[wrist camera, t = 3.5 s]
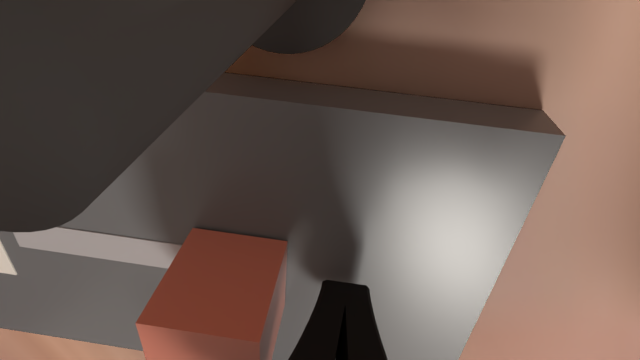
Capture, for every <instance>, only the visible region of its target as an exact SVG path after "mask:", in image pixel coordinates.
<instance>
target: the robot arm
mask: <svg viewBox="0 0 640 360" xmlns="http://www.w3.org/2000/svg"><path fill="white" fill-rule="evenodd" d="M335 358H336V359H335ZM288 360H388V359H387V356H386V353H385V350H384V347H383V344H382V341H381V338H380V334H379V331H378V327H377V324H376V320H375V316H374V312H373V307H372V303H371V297H370V289H369V288H368V287H367V285H360V284H354V283H347V282H340V281H333V280H324V281H322V285H321V290H320V293H319V296H318V299H317V302H316V304H315V307H314V309H313V312H312V314H311V316H310V319H309V321H308V323H307V325H306V327H305V329H304V331H303V333H302V335H301V337H300V339H299V341H298V343H297V345H296V347H295V348H294V350H293V352H292V354H291V355H290V357H289V359H288Z"/></svg>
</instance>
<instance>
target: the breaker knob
mask: <svg viewBox="0 0 640 360" xmlns="http://www.w3.org/2000/svg"><path fill="white" fill-rule="evenodd" d="M287 243H288V241H282V240H275V239H268V238H261V237H254V236H247V235H240V234H233V233H226V232H219V231H212V230H205V229H198V228H192V230H191V231H190V233H189V235H188V236H187V238H186V240H185V241H184V243H183V245H182V246H181V248H180V250H179V251H178V253H177V255H176V256H175V258H174V260H173V261H172V263H171V265H170V266H169V268H168V270H167V271H166V273H165V275H164V276H163V278H162V280H161V281H160V283H159V285H158V286H157V288H156V290H155V291H154V293H153V295H152V296H151V298H150V300H149V301H148V303H147V305H146V306H145V308H144V310H143V311H142V313H141V315H140V316H139V318H138V320H137V321H136V327H137V330H138V334H139V337H140V341H141V344H142V347H143V351H144V354H145V358H146V360H272V356H273V352H274V348H275V344H276V339H277V335H278V331H279V327H280V323H281V318H282V314H283V310H284V306H285V288H286V266H287Z"/></svg>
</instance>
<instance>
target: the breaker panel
mask: <svg viewBox="0 0 640 360" xmlns="http://www.w3.org/2000/svg"><path fill="white" fill-rule="evenodd" d="M564 138H565V135H564V133H563V132H562V131H561V130H560V129H559V128H558V127H557V126H556V124H555V123H554V122H553V121H552V120H551V119H550V118H549V117H548V115H547V114H546V113H545V112H544V111H542V110H534V109H526V108H517V107H509V106H500V105H492V104H484V103H475V102H467V101H459V100H450V99H442V98H433V97H425V96H417V95H408V94H400V93H391V92H383V91H375V90H366V89H358V88H350V87H341V86H333V85H324V84H316V83H308V82H299V81H291V80H282V79H274V78H266V77H257V76H249V75H240V74H232V73H223V74H222V75H221V76H220V77H219V78H218V79H217V80H216V81H215V82H214V83H213V84H212V85H211V86H210V87H209V88H208V89H207V90H206V91H205V92H204V93H203V94H202V95H201V96H200V97H199V98H198V99H197V100H196V101H195V102H194V103H193V104H192V105H190V106H189V107H188V108H187V109H186V110H185V111H184V112H183V113H182V114H181V115H180V116H179V117H178V118H177V119H176V120H175V121H174V122H173V123H172V124H171V125H170V126H169V127H168V128H167V129H166V130H165V131H164V132H163V133H162V134H161V135H160V136H159V137H158V138H157V139H156V140H155V141H154V142H153V143H152V144H151V145H150V146H149V147H148V148H147V149H146V150H145V151H144V152H143V153H142V154H141V155H140V156H139V157H138V158H137V159H136V160H135V161H134V162H133V163H132V164H131V165H130V166H129V167H128V168H127V169H126V170H125V171H124V172H123V173H122V174H121V175H120V176H119V177H118V178H117V179H116V180H115V181H114V182H113V183H112V184H111V185H110V186H108V187H107V188H106V189H105V190H104V191H103V192H102V193H101V194H100V195H99V196H98V197H97V198H96V199H95V200H94V201H93V202H92V203H91V204H90V205H89V206H88V207H87V208H86V209H85V210H84V211H83V212H82V213H81V214H79V215H78V216H77V217H75V218H74V219H73V220H71V221H69V222H67V223H65V224H63V225H61V226H58V227H55V228H51V229H48V230H43V231H36V232H6V231H0V328H4V329H10V330H16V331H22V332H29V333H35V334H41V335H47V336H53V337H60V338H66V339H72V340H78V341H85V342H91V343H97V344H103V345H109V346H116V347H122V348H128V349H134V350H140V351H143V347H142V344H141V341H140V337H139V334H138V330H137V327H136V321H137V320H138V318H139V316H140V315H141V313H142V311H143V310H144V308H145V306H146V305H147V303H148V301H149V300H150V298H151V296H152V295H153V293H154V291H155V290H156V288H157V286H158V285H159V283H160V281H161V280H162V278H163V276H164V275H165V273H166V271H167V270H168V268H169V266H170V265H171V263H172V261H173V260H174V258H175V256H176V255H177V253H178V251H179V250H180V248H181V246H182V245H183V243H184V241H185V240H186V238H187V236H188V235H189V233H190V231H191V230H192V228H198V229H205V230H212V231H219V232H226V233H233V234H240V235H247V236H254V237H261V238H268V239H275V240H282V241H288V243H287V266H286V288H285V306H284V310H283V314H282V318H281V323H280V327H279V331H278V335H277V339H276V344H275V348H274V352H273V356H272V360H288V359H289V357H290V355H291V354H292V352H293V350H294V348H295V347H296V345H297V343H298V341H299V339H300V337H301V335H302V333H303V331H304V329H305V327H306V325H307V323H308V321H309V319H310V316H311V314H312V312H313V309H314V307H315V304H316V302H317V299H318V296H319V293H320V290H321V285H322V281H324V280H333V281H340V282H347V283H354V284H360V285H367V287H368V288H369V289H370V297H371V303H372V307H373V312H374V316H375V320H376V324H377V327H378V331H379V334H380V338H381V341H382V344H383V347H384V350H385V353H386V356H387V359H388V360H458V359H459V357H460V355H461V353H462V351H463V349H464V347H465V344H466V342H467V340H468V338H469V336H470V334H471V332H472V330H473V328H474V326H475V324H476V322H477V319H478V317H479V315H480V313H481V311H482V309H483V307H484V305H485V303H486V301H487V299H488V297H489V294H490V292H491V290H492V288H493V286H494V284H495V282H496V280H497V278H498V276H499V274H500V272H501V269H502V267H503V265H504V263H505V261H506V259H507V257H508V255H509V253H510V251H511V249H512V247H513V244H514V242H515V240H516V238H517V236H518V234H519V232H520V230H521V228H522V226H523V224H524V222H525V219H526V217H527V215H528V213H529V211H530V209H531V207H532V205H533V203H534V201H535V199H536V197H537V194H538V192H539V190H540V188H541V186H542V184H543V182H544V180H545V178H546V176H547V174H548V172H549V169H550V167H551V165H552V163H553V161H554V159H555V157H556V155H557V153H558V151H559V149H560V147H561V144H562V142H563V140H564ZM335 359H336V358H335Z"/></svg>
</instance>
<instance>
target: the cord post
mask: <svg viewBox="0 0 640 360" xmlns="http://www.w3.org/2000/svg"><path fill="white" fill-rule="evenodd" d="M364 2H365V0H0V231H6V232H36V231H43V230H48V229H51V228H55V227H58V226H61V225H63V224H65V223H67V222H69V221H71V220H73V219H74V218H75V217H77V216H78V215H79V214H81V213H82V212H83V211H84V210H85V209H86V208H87V207H88V206H89V205H90V204H91V203H92V202H93V201H94V200H95V199H96V198H97V197H98V196H99V195H100V194H101V193H102V192H103V191H104V190H105V189H106V188H107V187H108V186H110V185H111V184H112V183H113V182H114V181H115V180H116V179H117V178H118V177H119V176H120V175H121V174H122V173H123V172H124V171H125V170H126V169H127V168H128V167H129V166H130V165H131V164H132V163H133V162H134V161H135V160H136V159H137V158H138V157H139V156H140V155H141V154H142V153H143V152H144V151H145V150H146V149H147V148H148V147H149V146H150V145H151V144H152V143H153V142H154V141H155V140H156V139H157V138H158V137H159V136H160V135H161V134H162V133H163V132H164V131H165V130H166V129H167V128H168V127H169V126H170V125H171V124H172V123H173V122H174V121H175V120H176V119H177V118H178V117H179V116H180V115H181V114H182V113H183V112H184V111H185V110H186V109H187V108H188V107H189V106H190V105H192V104H193V103H194V102H195V101H196V100H197V99H198V98H199V97H200V96H201V95H202V94H203V93H204V92H205V91H206V90H207V89H208V88H209V87H210V86H211V85H212V84H213V83H214V82H215V81H216V80H217V79H218V78H219V77H220V76H221V75H222V74H223V73H224V72H225V71H226V70H227V69H228V68H229V67H230V66H231V65H232V64H233V63H234V62H235V61H236V60H237V59H238V58H239V57H240V56H241V55H242V54H243V53H244V52H245V51H246V50H247V49H248V48H249V47H250V46H251V45H253V46H255V47H258V48H260V49H263V50H266V51H270V52H275V53H283V54H294V53H303V52H307V51H311V50H314V49H317V48H319V47H322V46H324V45H325V44H327V43H329V42H331V41H332V40H334V39H335V38H336V37H338V36H339V35H340V34H341V33H343V32H344V31H345V30H346V29H347V28H348V27H349V26H350V24H351V23H352V22H353V21H354V19H355V18H356V17H357V15H358V13H359V12H360V10H361V9H362V7H363V5H364Z"/></svg>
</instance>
